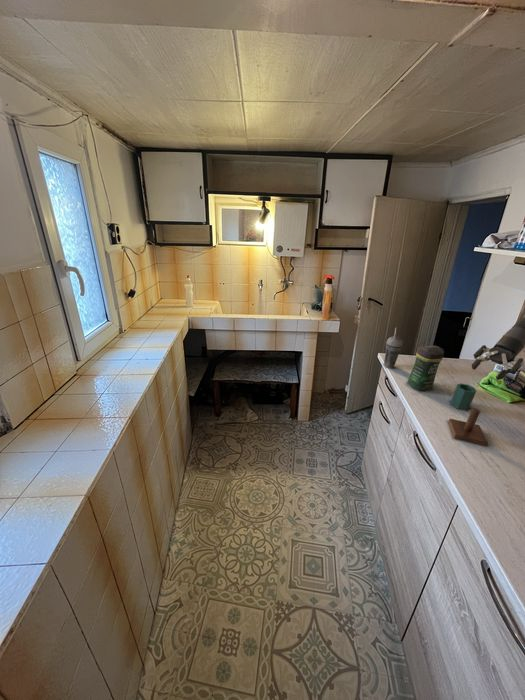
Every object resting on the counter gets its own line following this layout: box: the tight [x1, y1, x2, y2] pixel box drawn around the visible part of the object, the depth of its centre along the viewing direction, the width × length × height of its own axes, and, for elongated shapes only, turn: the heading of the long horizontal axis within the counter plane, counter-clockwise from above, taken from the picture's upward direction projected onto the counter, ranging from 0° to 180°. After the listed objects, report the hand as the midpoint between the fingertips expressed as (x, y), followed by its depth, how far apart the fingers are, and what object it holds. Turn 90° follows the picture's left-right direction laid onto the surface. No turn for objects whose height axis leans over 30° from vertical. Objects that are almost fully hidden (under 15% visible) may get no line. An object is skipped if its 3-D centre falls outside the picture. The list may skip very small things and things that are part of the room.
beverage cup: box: [383, 327, 404, 369], centre depth 133 cm, size 7×7×20 cm
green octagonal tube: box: [450, 383, 477, 411], centre depth 108 cm, size 6×6×8 cm
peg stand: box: [448, 407, 489, 447], centre depth 92 cm, size 9×9×10 cm
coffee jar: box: [407, 345, 445, 391], centre depth 117 cm, size 10×8×19 cm
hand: (484, 373), depth 108 cm, fingers open, 8 cm apart
